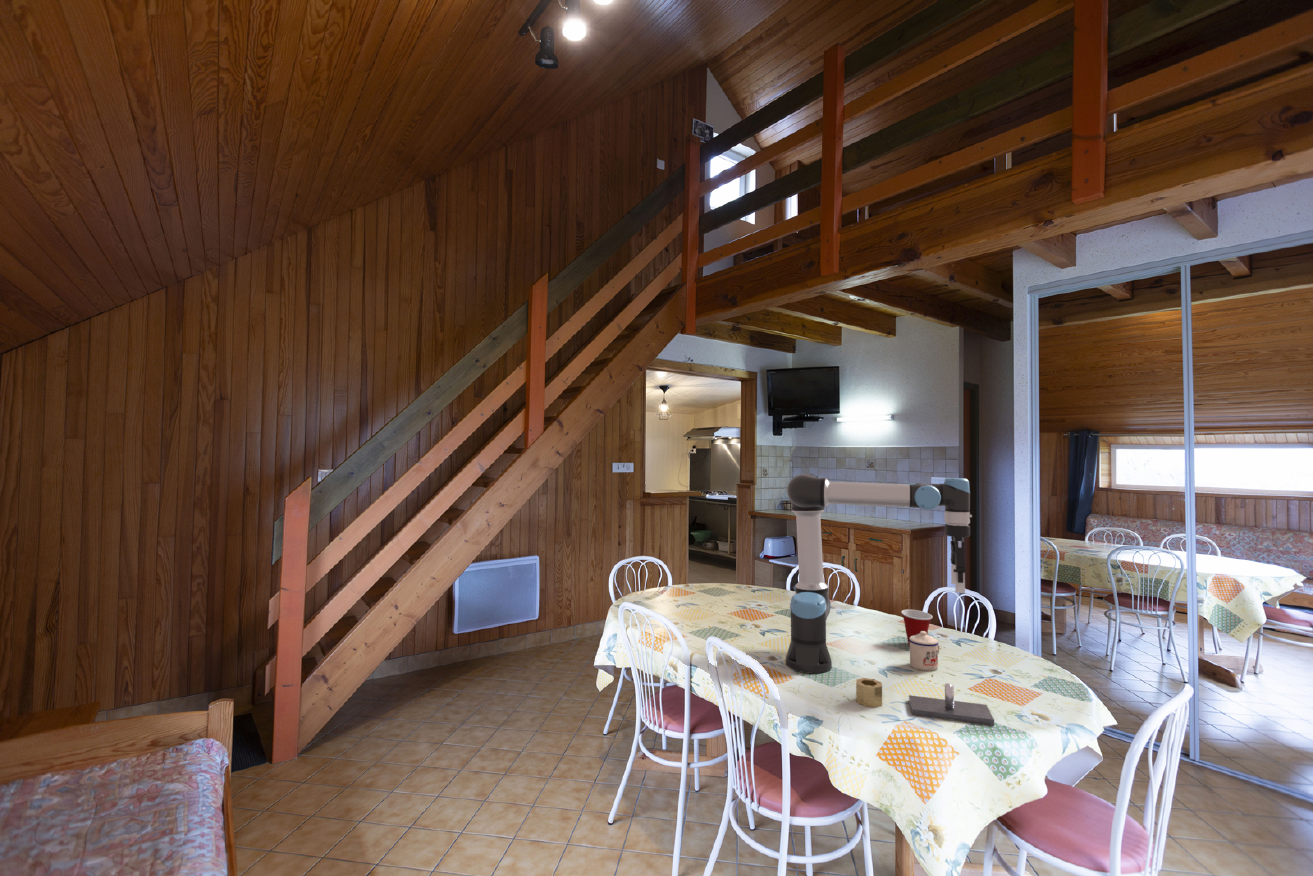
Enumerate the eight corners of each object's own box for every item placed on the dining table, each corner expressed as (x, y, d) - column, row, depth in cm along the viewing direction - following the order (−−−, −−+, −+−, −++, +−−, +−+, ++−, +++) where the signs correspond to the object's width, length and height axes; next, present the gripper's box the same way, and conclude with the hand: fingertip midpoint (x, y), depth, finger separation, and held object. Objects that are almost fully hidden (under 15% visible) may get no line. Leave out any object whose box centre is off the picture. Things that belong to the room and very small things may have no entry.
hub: (856, 705, 168) (856, 685, 168) (856, 695, 175) (856, 677, 175) (882, 708, 166) (882, 688, 166) (881, 699, 172) (881, 680, 173)
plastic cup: (924, 651, 214) (924, 618, 215) (896, 644, 223) (895, 612, 223) (938, 645, 221) (937, 613, 222) (910, 638, 230) (910, 607, 230)
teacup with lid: (926, 673, 193) (925, 637, 194) (903, 664, 201) (902, 630, 202) (950, 667, 199) (950, 632, 199) (927, 659, 207) (926, 625, 207)
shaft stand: (911, 714, 162) (911, 687, 162) (909, 700, 171) (908, 674, 172) (994, 725, 155) (993, 696, 156) (986, 710, 165) (986, 683, 165)
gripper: (974, 529, 184) (975, 597, 183) (965, 521, 207) (966, 581, 207) (948, 527, 187) (948, 595, 186) (942, 520, 210) (942, 580, 209)
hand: (958, 588), depth 196 cm, fingers open, 13 cm apart
